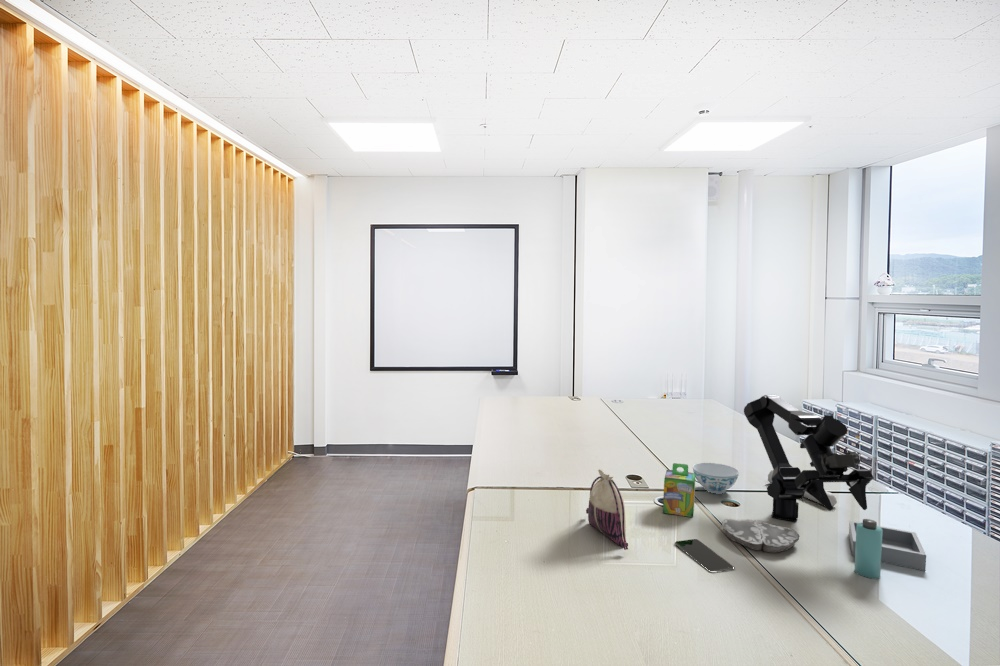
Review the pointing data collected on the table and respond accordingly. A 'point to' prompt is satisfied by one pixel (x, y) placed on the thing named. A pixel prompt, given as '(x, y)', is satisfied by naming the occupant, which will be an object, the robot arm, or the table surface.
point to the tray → (896, 547)
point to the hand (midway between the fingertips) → (848, 509)
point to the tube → (807, 495)
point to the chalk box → (679, 491)
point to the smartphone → (704, 555)
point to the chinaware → (715, 476)
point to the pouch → (607, 509)
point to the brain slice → (760, 535)
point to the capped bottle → (868, 549)
